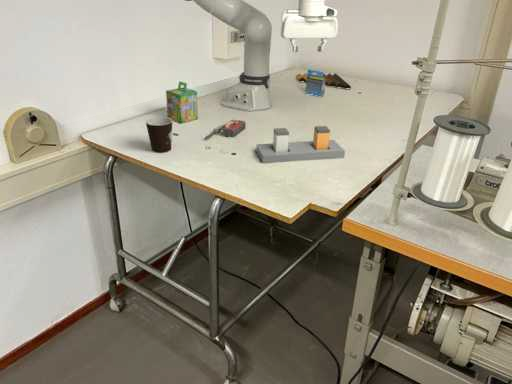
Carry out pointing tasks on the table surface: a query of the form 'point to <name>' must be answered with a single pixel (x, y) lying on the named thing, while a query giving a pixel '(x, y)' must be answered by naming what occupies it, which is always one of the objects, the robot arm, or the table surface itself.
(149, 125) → the coffee mug
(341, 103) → the table surface
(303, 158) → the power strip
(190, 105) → the chalk box
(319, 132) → the orange plug
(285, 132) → the white plug
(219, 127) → the walkie-talkie
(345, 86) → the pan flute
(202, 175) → the table surface
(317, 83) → the label tape box
